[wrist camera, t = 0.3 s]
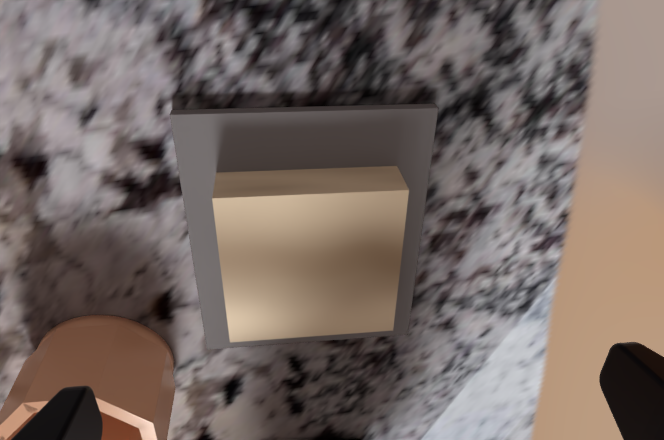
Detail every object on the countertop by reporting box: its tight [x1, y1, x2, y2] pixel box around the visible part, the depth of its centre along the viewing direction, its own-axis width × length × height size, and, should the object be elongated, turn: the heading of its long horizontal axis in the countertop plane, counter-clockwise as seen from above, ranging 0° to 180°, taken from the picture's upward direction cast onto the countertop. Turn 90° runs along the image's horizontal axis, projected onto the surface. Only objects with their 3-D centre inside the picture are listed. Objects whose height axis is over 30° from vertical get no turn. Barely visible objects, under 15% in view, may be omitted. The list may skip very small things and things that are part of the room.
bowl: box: [0, 315, 176, 440], centre depth 24 cm, size 6×6×5 cm
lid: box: [212, 166, 409, 342], centre depth 22 cm, size 7×7×2 cm
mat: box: [170, 104, 438, 349], centre depth 23 cm, size 12×10×1 cm
